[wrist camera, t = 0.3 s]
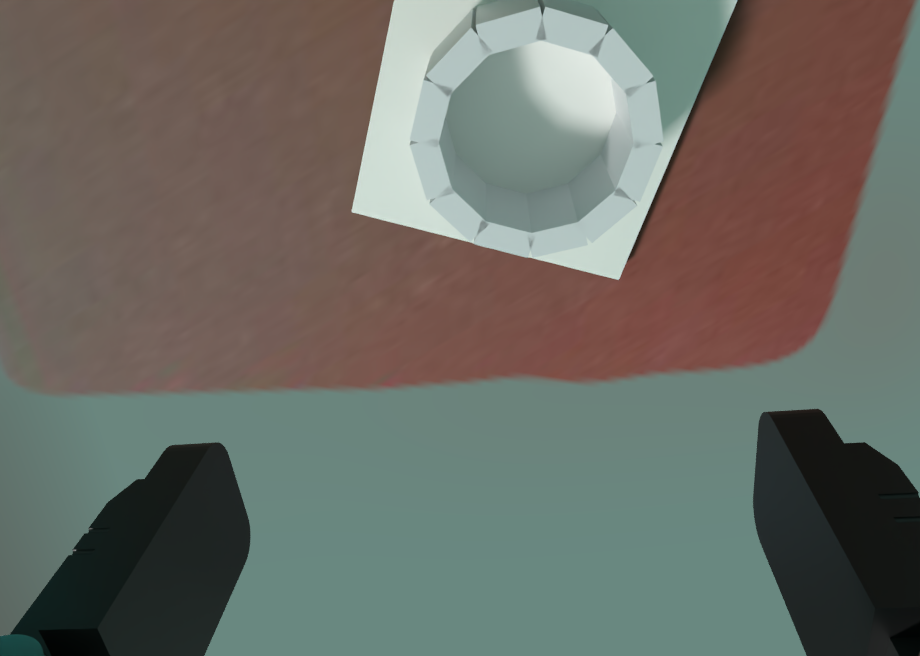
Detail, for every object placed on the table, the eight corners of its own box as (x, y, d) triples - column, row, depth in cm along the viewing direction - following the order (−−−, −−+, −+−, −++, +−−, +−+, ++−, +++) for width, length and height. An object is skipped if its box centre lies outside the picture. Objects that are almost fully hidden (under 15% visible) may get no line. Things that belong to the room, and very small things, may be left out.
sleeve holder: (417, -106, 26) (404, -102, 22) (731, -10, 28) (777, 11, 23) (355, 203, 32) (335, 252, 28) (615, 269, 34) (634, 326, 29)
